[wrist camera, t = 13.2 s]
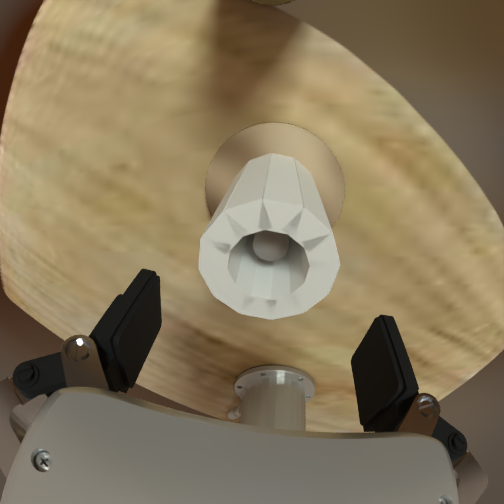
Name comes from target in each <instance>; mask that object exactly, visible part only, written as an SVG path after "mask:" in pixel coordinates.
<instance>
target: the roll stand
mask: <svg viewBox="0 0 504 504" xmlns="http://www.w3.org/2000/svg"><path fill="white" fill-rule="evenodd" d="M270 153H271V154H272V153H274V154H279V155H284V156H288V157H293V158H295V159H296V160H297V161H298V162H300V163H301V164H302V165H303V166H304V167H305V168H306V169H307V170H308V171H310V172H311V174H312V177H313V179H314V182H315V185H316V187H317V190H318V193H319V195H320V198H321V201H322V204H323V206H324V209H325V212H326V215H327V218H328V220H329V223H330V226H331V229H332V227H333V226H334V225H335V223H336V221H337V219H338V218H339V216H340V213H341V210H342V207H343V203H344V197H345V183H344V177H343V173H342V170H341V167H340V165H339V163H338V161H337V159H336V157H335V156H334V154H333V153H332V151H331V150H330V149H329V148H328V147H327V146H326V144H325V143H324V142H323V141H322V140H320V139H319V138H318V137H317V136H316V135H314V134H313V133H311V132H309V131H308V130H306V129H304V128H301V127H299V126H296V125H293V124H289V123H282V122H267V123H260V124H257V125H253V126H250V127H248V128H245V129H243V130H242V131H240V132H238V133H237V134H235V135H234V136H232V137H231V138H230V139H229V140H227V141H226V142H225V143H224V144H223V145H222V146H221V148H220V149H219V150H218V151H217V153H216V154H215V156H214V158H213V160H212V161H211V163H210V166H209V169H208V172H207V177H206V187H205V191H206V199H207V204H208V207H209V210H210V213H211V215H212V217H213V215H214V213H215V211H216V210H217V208H218V206H219V204H220V203H221V201H222V199H223V197H224V196H225V194H226V192H227V190H228V189H229V187H230V185H231V183H232V182H233V180H234V178H235V177H236V175H237V174H238V173H239V172H240V171H241V170H242V168H243V167H244V166H245V165H246V164H247V163H248V161H250V160H252V159H255V158H258V157H261V156H264V155H267V154H270ZM288 248H289V237H288V234H283V233H278V232H273V231H268V230H263V231H259V232H256V233H255V235H254V240H253V249H254V252H255V253H256V255H257V256H258V257H260V258H261V259H263V260H266V261H276V260H279V259H281V258H283V257H284V256H285V255H286V253H287V252H288Z"/></svg>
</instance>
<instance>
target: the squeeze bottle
mask: <svg viewBox="0 0 504 504" xmlns="http://www.w3.org/2000/svg"><path fill="white" fill-rule="evenodd" d="M250 1H253V2H256V3H258V4H261V5H274V6H276V5H281V4H286V3H290V2H292V1H294V0H250Z"/></svg>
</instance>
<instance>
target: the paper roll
mask: <svg viewBox="0 0 504 504" xmlns="http://www.w3.org/2000/svg"><path fill="white" fill-rule="evenodd" d="M263 230H268V231H273V232H278V233H283V234H288V237H289V248H288V252H287V253H286V255H285V256H284V257H283V258H281V259H279V260H276V261H266V260H263V259H261V258H260V257H258V256H257V255H256V253H255V252H254V249H253V240H254V235H255V233H256V232H259V231H263ZM339 267H340V261H339V256H338V252H337V248H336V244H335V240H334V236H333V232H332V229H331V226H330V223H329V220H328V218H327V215H326V212H325V209H324V206H323V204H322V201H321V198H320V195H319V193H318V190H317V187H316V185H315V182H314V179H313V177H312V174H311V172H310V171H308V170H307V169H306V168H305V167H304V166H303V165H302V164H301V163H300V162H298V161H297V160H296V159H295V158H293V157H288V156H284V155H279V154H274V153H272V154H271V153H270V154H267V155H264V156H261V157H258V158H255V159H252V160H250V161H248V163H247V164H246V165H245V166H244V167H243V168H242V170H241V171H240V172H239V173H238V174H237V175H236V177H235V178H234V180H233V182H232V183H231V185H230V187H229V189H228V190H227V192H226V194H225V196H224V197H223V199H222V201H221V203H220V204H219V206H218V208H217V210H216V211H215V213H214V215H213V217H212V219H211V220H210V222H209V224H208V226H207V228H206V229H205V231H204V233H203V235H202V237H201V241H200V254H199V271H200V273H201V275H202V277H203V278H204V280H205V282H206V284H207V286H208V287H209V289H210V291H211V293H212V295H214V297H215V298H217V299H218V300H220V301H221V302H223V303H224V304H226V305H227V306H229V307H230V308H232V309H233V310H235V311H236V312H238V313H241V314H243V315H248V316H254V317H259V318H265V319H270V320H272V319H273V320H274V319H278V318H283V317H288V316H292V315H297V314H302V313H303V312H306V311H307V310H308V309H310V308H311V307H312V306H314V305H315V304H316V303H318V302H319V301H320V300H322V299H323V298H324V297H325V296H327V295H328V293H329V292H330V290H331V287H332V285H333V283H334V280H335V278H336V275H337V273H338V270H339Z"/></svg>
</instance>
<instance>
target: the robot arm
mask: <svg viewBox="0 0 504 504" xmlns="http://www.w3.org/2000/svg"><path fill="white" fill-rule="evenodd" d="M161 323H162V319H161V299H160V277H159V276H157V275H156V272H155V271H151V270H147V269H142V270H141V271H140V272H139V273H138V275H137V276H136V277H135V279H134V280H133V281H132V283H131V284H130V286H129V287H128V288H127V290H126V291H125V292H124V294H123V295H122V294H119V295H118V296H117V297H116V298H115V300H114V301H113V302H112V304H111V305H110V307H109V308H108V309H107V311H106V312H105V314H104V315H103V316H102V318H101V319H100V321H99V322H98V324H97V325H96V326H95V328H94V329H93V331H92V332H91V334H90V335H89V337H88V336H85V335H74V336H72V337H69V338H68V339H67V340H65V342H64V343H63V344H62V347H61V352H58V353H55V354H51V355H47V356H44V357H40V358H36V359H33V360H29V361H25V362H23V363H21V364H19V365H18V366H17V367H16V369H15V370H14V373H13V377H12V378H10V379H9V378H8V377H6V378H5V379H3V380H1V381H0V468H1V470H2V472H3V473H4V475H5V477H6V479H7V481H6V484H5V488H4V491H3V495H2V499H1V502H0V504H475V502H476V501H477V500H478V499H479V497H480V496H481V494H482V493H483V491H484V490H485V489H486V487H487V484H488V477H487V475H486V473H485V472H484V470H483V469H482V467H481V466H480V465H479V463H478V462H477V460H476V459H475V458H474V456H473V455H472V453H471V452H470V451H468V452H466V450H467V441H466V439H465V437H464V435H463V434H462V433H461V432H459V431H458V430H457V429H455V428H454V427H453V426H451V425H450V424H449V423H448V422H446V421H445V420H443V419H442V418H441V417H440V416H439V415H440V405H439V402H438V401H437V399H436V398H435V397H434V396H432V395H430V394H428V393H420V394H419V392H418V390H419V387H418V384H417V381H416V378H415V375H414V372H413V369H412V366H411V363H410V360H409V357H408V354H407V351H406V349H405V346H404V343H403V340H402V338H401V335H400V333H399V330H398V327H397V325H396V322H395V320H394V318H393V317H392V316H387V315H380V316H379V317H376V318H375V319H374V321H373V323H372V325H371V326H370V328H369V330H368V331H367V333H366V335H365V337H364V338H363V340H362V342H361V343H360V345H359V347H358V348H357V350H356V351H355V353H354V355H353V356H352V359H351V366H352V372H353V378H354V384H355V390H356V397H357V404H358V411H359V418H360V424H361V425H362V426H363V428H364V432H372V433H332V432H310V431H306V417H305V403H306V402H308V401H309V400H310V399H311V398H312V397H313V396H314V393H315V383H314V381H313V379H312V378H311V377H310V376H309V375H308V374H306V373H305V372H303V371H301V370H298V369H295V368H291V367H286V366H276V365H270V366H261V367H255V368H252V369H249V370H247V371H245V372H243V373H242V374H240V375H239V376H238V377H237V379H236V381H235V387H234V390H235V393H236V395H237V396H238V397H239V398H240V399H241V401H240V404H239V405H238V406H237V407H236V408H233V409H231V410H229V411H228V412H227V416H228V418H229V419H231V420H234V419H237V418H239V417H240V421H239V423H234V422H228V421H223V420H217V419H213V418H208V417H204V416H199V415H195V414H191V413H187V412H183V411H179V410H175V409H171V408H168V407H164V406H160V405H157V404H153V403H149V402H147V401H143V400H140V399H137V398H134V397H130V396H127V395H123V394H120V393H118V391H121V392H124V393H127V390H128V388H129V387H130V388H132V387H133V386H134V384H135V382H136V380H137V378H138V375H139V373H140V371H141V369H142V367H143V364H144V362H145V360H146V358H147V356H148V354H149V351H150V349H151V347H152V345H153V343H154V341H155V339H156V337H157V335H158V332H159V330H160V328H161ZM30 424H31V425H30ZM29 425H30V426H29ZM28 426H29V429H28V430H27V428H28ZM26 430H27V432H26ZM374 431H375V432H374Z"/></svg>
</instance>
